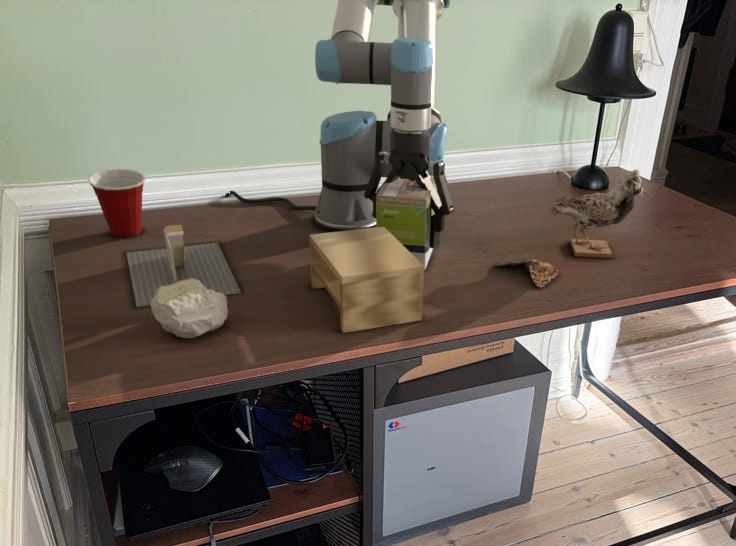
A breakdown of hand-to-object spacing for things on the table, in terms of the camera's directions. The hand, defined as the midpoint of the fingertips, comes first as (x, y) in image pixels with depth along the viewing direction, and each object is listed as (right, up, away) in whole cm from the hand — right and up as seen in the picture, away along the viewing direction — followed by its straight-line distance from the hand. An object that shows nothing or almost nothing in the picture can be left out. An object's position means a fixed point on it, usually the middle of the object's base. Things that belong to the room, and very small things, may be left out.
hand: (407, 240), depth 148 cm
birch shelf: (-7, -14, -18) cm, 24 cm away
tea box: (0, -3, +2) cm, 3 cm away
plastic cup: (-59, +2, +6) cm, 59 cm away
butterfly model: (+24, -7, -4) cm, 26 cm away
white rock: (-33, -20, -29) cm, 48 cm away
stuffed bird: (+39, -1, +8) cm, 40 cm away
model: (-42, -8, -10) cm, 44 cm away
